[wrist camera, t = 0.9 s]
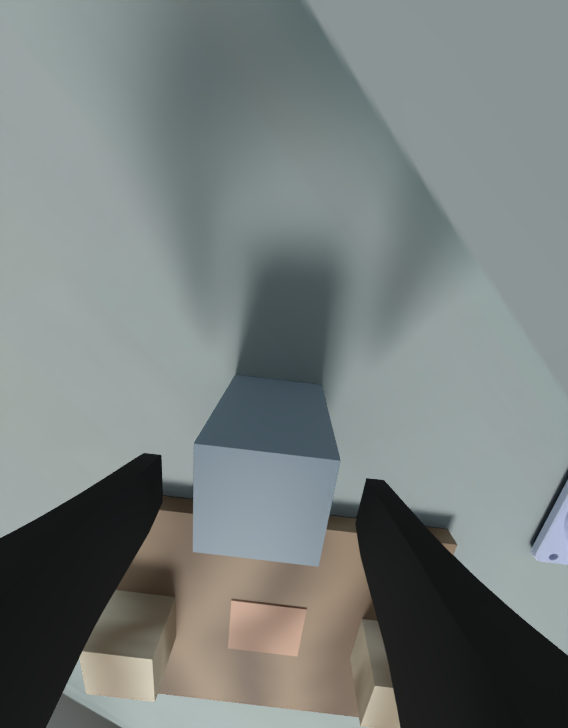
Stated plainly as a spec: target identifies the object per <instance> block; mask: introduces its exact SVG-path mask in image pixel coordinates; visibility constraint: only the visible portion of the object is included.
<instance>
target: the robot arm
mask: <svg viewBox="0 0 568 728" xmlns="http://www.w3.org/2000/svg"><path fill="white" fill-rule="evenodd" d="M162 503H163V490H162V460H161V455H156V454H147V453H143V454H142V455H140V456H138V457H137V458H135V459H134V460H132V461H130V462H129V463H127V464H126V465H124V466H123V467H121V468H120V469H118V470H116V471H115V472H113V473H112V474H110V475H109V476H107V477H106V478H104V479H102V480H101V481H99V482H98V483H96V484H95V485H93V486H91V487H90V488H88V489H87V490H85V491H83V492H82V493H80V494H78V495H77V496H75V497H73V498H72V499H70V500H68V501H67V502H65V503H63V504H61V505H60V506H58V507H56V508H55V509H53V510H51V511H50V512H48V513H46V514H44V515H43V516H41V517H39V518H37V519H36V520H34V521H32V522H30V523H28V524H26V525H25V526H23V527H21V528H19V529H17V530H15V531H13V532H11V533H9V534H7V535H5V536H3V537H2V538H0V728H46V726H47V724H48V722H49V720H50V717H51V716H52V714H53V711H54V709H55V707H56V705H57V703H58V701H59V699H60V697H61V694H62V692H63V690H64V688H65V686H66V684H67V682H68V680H69V678H70V676H71V674H72V672H73V669H74V667H75V665H76V663H77V661H78V659H79V657H80V655H81V653H82V651H83V649H84V647H85V645H86V643H87V641H88V639H89V637H90V635H91V633H92V631H93V629H94V627H95V625H96V624H97V622H98V620H99V618H100V616H101V614H102V613H103V611H104V609H105V607H106V606H107V604H108V602H109V600H110V599H111V597H112V595H113V594H114V592H115V590H116V589H117V587H118V585H119V583H120V582H121V580H122V578H123V577H124V575H125V573H126V572H127V570H128V568H129V566H130V565H131V563H132V561H133V560H134V558H135V556H136V555H137V553H138V551H139V549H140V548H141V546H142V544H143V542H144V541H145V539H146V537H147V535H148V534H149V532H150V530H151V527H152V525H153V523H154V521H155V519H156V517H157V514H158V512H159V510H160V507H161V505H162ZM355 525H356V532H357V539H358V545H359V551H360V557H361V560H362V564H363V568H364V572H365V576H366V580H367V583H368V587H369V591H370V594H371V598H372V602H373V606H374V609H375V613H376V617H377V620H378V624H379V628H380V631H381V635H382V639H383V643H384V647H385V651H386V656H387V660H388V664H389V669H390V675H391V680H392V685H393V690H394V695H395V701H396V706H397V711H398V717H399V722H400V728H568V655H566V654H565V653H564V652H563V651H561V650H560V649H559V648H558V647H557V646H555V645H554V644H553V643H552V642H550V641H549V640H548V639H547V638H545V637H544V636H543V635H542V634H541V633H539V632H538V631H537V630H536V629H534V628H533V627H532V626H531V625H529V624H528V623H527V622H526V621H525V620H524V619H522V618H521V617H520V616H519V615H518V614H516V613H515V612H514V611H513V610H512V609H511V608H509V607H508V606H507V605H506V604H505V603H504V602H503V601H502V600H500V599H499V598H498V597H497V596H496V595H495V594H494V593H493V592H492V591H490V590H489V589H488V588H487V587H486V586H485V585H484V584H483V583H482V582H480V581H479V580H478V579H477V578H476V577H475V576H474V575H473V574H472V573H471V572H470V571H469V570H468V569H467V568H466V567H465V566H464V565H463V564H462V563H461V562H460V561H459V560H458V559H457V558H456V557H455V556H454V555H453V554H451V553H450V552H449V551H448V550H447V549H446V548H445V546H444V545H443V544H442V543H441V542H440V541H439V540H438V539H437V538H436V537H435V536H434V535H433V534H432V533H431V532H430V531H429V530H428V529H427V528H426V526H425V525H424V524H423V523H422V522H421V521H420V520H419V519H418V518H417V517H416V516H415V514H414V513H413V512H412V511H411V510H410V509H409V508H408V507H407V505H406V504H405V503H404V502H403V501H402V500H401V499H400V498H399V496H398V495H397V494H396V493H395V492H394V491H393V490H392V489H391V487H390V486H389V485H388V484H387V483H386V482H385V481H384V480H377V479H368V478H366V482H365V486H364V490H363V494H362V498H361V502H360V506H359V510H358V515H357V519H356V523H355ZM531 554H532V555H533V556H534V557H535V558H536V559H537V560H538V561H542V562H550V563H559V564H567V565H568V480H567V482H566V484H565V486H564V488H563V489H562V491H561V493H560V495H559V497H558V499H557V501H556V503H555V505H554V507H553V509H552V510H551V512H550V514H549V516H548V518H547V520H546V522H545V524H544V526H543V528H542V530H541V531H540V533H539V535H538V537H537V539H536V541H535V543H534V545H533V547H532V549H531Z"/></svg>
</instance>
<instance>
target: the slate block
mask: <svg viewBox="0 0 568 728" xmlns="http://www.w3.org/2000/svg"><path fill="white" fill-rule="evenodd" d="M339 466H340V457H339V453H338V449H337V444H336V440H335V436H334V432H333V428H332V424H331V420H330V416H329V412H328V408H327V404H326V400H325V396H324V392H323V388H322V385H319V384H311V383H302V382H293V381H285V380H276V379H267V378H259V377H250V376H241V375H235V376H234V378H233V379H232V381H231V383H230V384H229V386H228V388H227V389H226V391H225V393H224V394H223V396H222V398H221V399H220V401H219V403H218V404H217V406H216V408H215V409H214V411H213V413H212V414H211V416H210V418H209V419H208V421H207V422H206V424H205V426H204V427H203V429H202V431H201V432H200V434H199V436H198V437H197V439H196V441H195V442H194V471H193V552H198V553H206V554H215V555H223V556H232V557H240V558H248V559H257V560H265V561H274V562H282V563H291V564H299V565H308V566H316V567H319V563H320V558H321V553H322V548H323V543H324V538H325V534H326V529H327V524H328V519H329V514H330V509H331V505H332V500H333V495H334V490H335V485H336V480H337V475H338V471H339Z"/></svg>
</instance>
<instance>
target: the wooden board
mask: <svg viewBox="0 0 568 728" xmlns="http://www.w3.org/2000/svg"><path fill="white" fill-rule="evenodd" d="M355 523H356V518H348V517H339V516H330V515H329V519H328V524H327V529H326V534H325V538H324V543H323V548H322V553H321V558H320V563H319V567H316V566H308V565H299V564H291V563H282V562H274V561H265V560H257V559H248V558H240V557H232V556H223V555H215V554H206V553H198V552H193V499H185V498H177V497H168V496H163V503H162V505H161V507H160V510H159V512H158V514H157V517H156V519H155V521H154V523H153V525H152V527H151V530H150V532H149V534H148V535H147V537H146V539H145V541H144V542H143V544H142V546H141V548H140V549H139V551H138V553H137V555H136V556H135V558H134V560H133V561H132V563H131V565H130V566H129V568H128V570H127V572H126V573H125V575H124V577H123V578H122V580H121V582H120V583H119V585H118V587H117V589H116V590H115V592H114V594H113V595H112V597H111V599H110V600H109V602H108V604H107V606H106V607H105V609H104V611H103V613H102V614H101V616H100V618H99V620H98V622H97V624H96V625H95V627H94V629H93V631H92V633H91V635H90V637H89V639H88V641H87V643H86V645H85V647H84V649H83V651H82V653H81V655H80V657H79V658H80V663H81V669H82V674H83V679H84V684H85V689H86V694H92V695H100V696H109V697H117V698H126V699H134V700H143V701H151V702H155V700H156V697H157V694H158V693H159V694H167V695H176V696H184V697H192V698H201V699H209V700H218V701H226V702H235V703H243V704H252V705H260V706H269V707H277V708H286V709H294V710H302V711H311V712H319V713H328V714H336V715H345V716H353V717H359V721H360V726H362V727H371V728H400V722H399V717H398V711H397V706H396V701H395V695H394V690H393V685H392V680H391V675H390V669H389V664H388V660H387V656H386V651H385V647H384V643H383V639H382V635H381V631H380V628H379V624H378V620H377V617H376V613H375V609H374V606H373V602H372V598H371V594H370V591H369V587H368V583H367V580H366V576H365V572H364V568H363V564H362V560H361V557H360V551H359V545H358V539H357V532H356V525H355ZM426 528H427V529H428V530H429V531H430V532H431V533H432V534H433V535H434V536H435V537H436V538H437V539H438V540H439V541H440V542H441V543H442V544H443V545H444V546H445V548H446V549H447V550H448V551H449V552H450V553H451V554H454V552H455V549H456V547H457V544H456V542H455V540H454V539H453V537H452V535H451V534H450V532H449V531H448V529H441V528H433V527H426Z"/></svg>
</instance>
